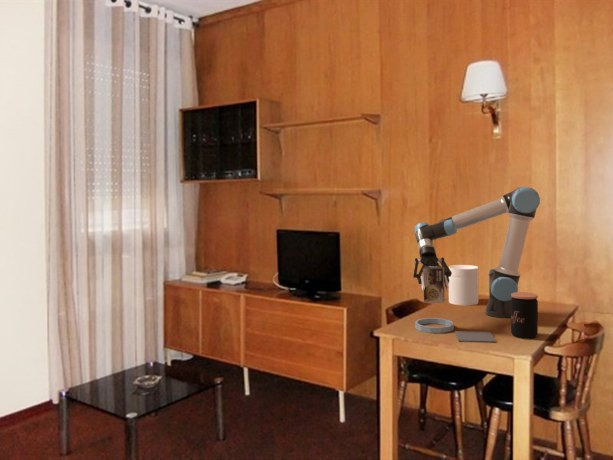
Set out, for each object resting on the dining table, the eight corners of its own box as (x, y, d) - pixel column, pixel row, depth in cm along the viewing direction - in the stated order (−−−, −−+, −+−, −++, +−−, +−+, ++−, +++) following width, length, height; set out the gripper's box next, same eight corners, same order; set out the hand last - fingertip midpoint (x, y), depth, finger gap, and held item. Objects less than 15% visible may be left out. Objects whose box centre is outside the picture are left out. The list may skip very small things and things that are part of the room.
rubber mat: (490, 333, 226) (490, 331, 226) (496, 342, 212) (496, 341, 212) (454, 332, 229) (454, 331, 229) (458, 341, 215) (458, 340, 215)
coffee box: (444, 300, 238) (444, 266, 236) (443, 303, 232) (443, 268, 230) (424, 299, 241) (424, 265, 239) (423, 302, 235) (422, 267, 233)
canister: (443, 300, 294) (443, 265, 292) (468, 298, 297) (468, 264, 296) (458, 306, 278) (457, 269, 276) (484, 304, 282) (484, 268, 280)
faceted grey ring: (451, 323, 244) (451, 318, 244) (455, 333, 227) (455, 327, 227) (414, 322, 247) (414, 317, 247) (416, 332, 230) (416, 327, 230)
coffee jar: (506, 333, 226) (506, 292, 224) (529, 331, 227) (529, 291, 225) (518, 340, 215) (518, 297, 214) (542, 338, 216) (543, 296, 215)
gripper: (449, 254, 250) (458, 292, 235) (402, 256, 250) (409, 294, 235) (452, 244, 244) (462, 283, 230) (404, 246, 244) (411, 285, 230)
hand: (435, 288), depth 233 cm, fingers closed on coffee box, 10 cm apart
